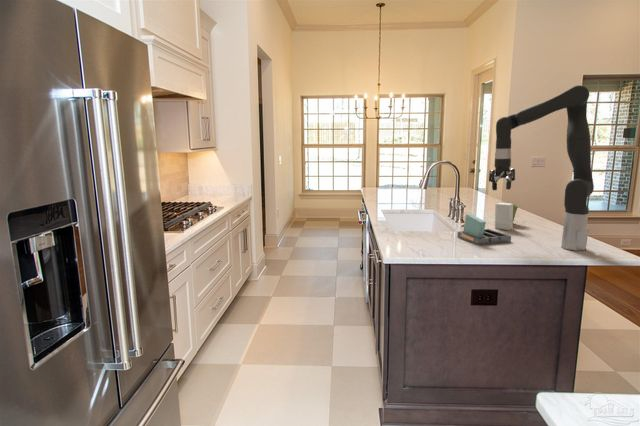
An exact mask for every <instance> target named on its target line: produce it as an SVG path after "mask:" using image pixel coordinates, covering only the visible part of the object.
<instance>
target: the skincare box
mask: <svg viewBox="0 0 640 426" xmlns="http://www.w3.org/2000/svg"><path fill="white" fill-rule="evenodd" d="M513 205H514V203H511V202H510V203H507V202H498V203H496V204H495V214H494V216H495V217H494V229H497V230H504V231H510V230H512V229H513V224H514V221H513Z"/></svg>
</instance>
